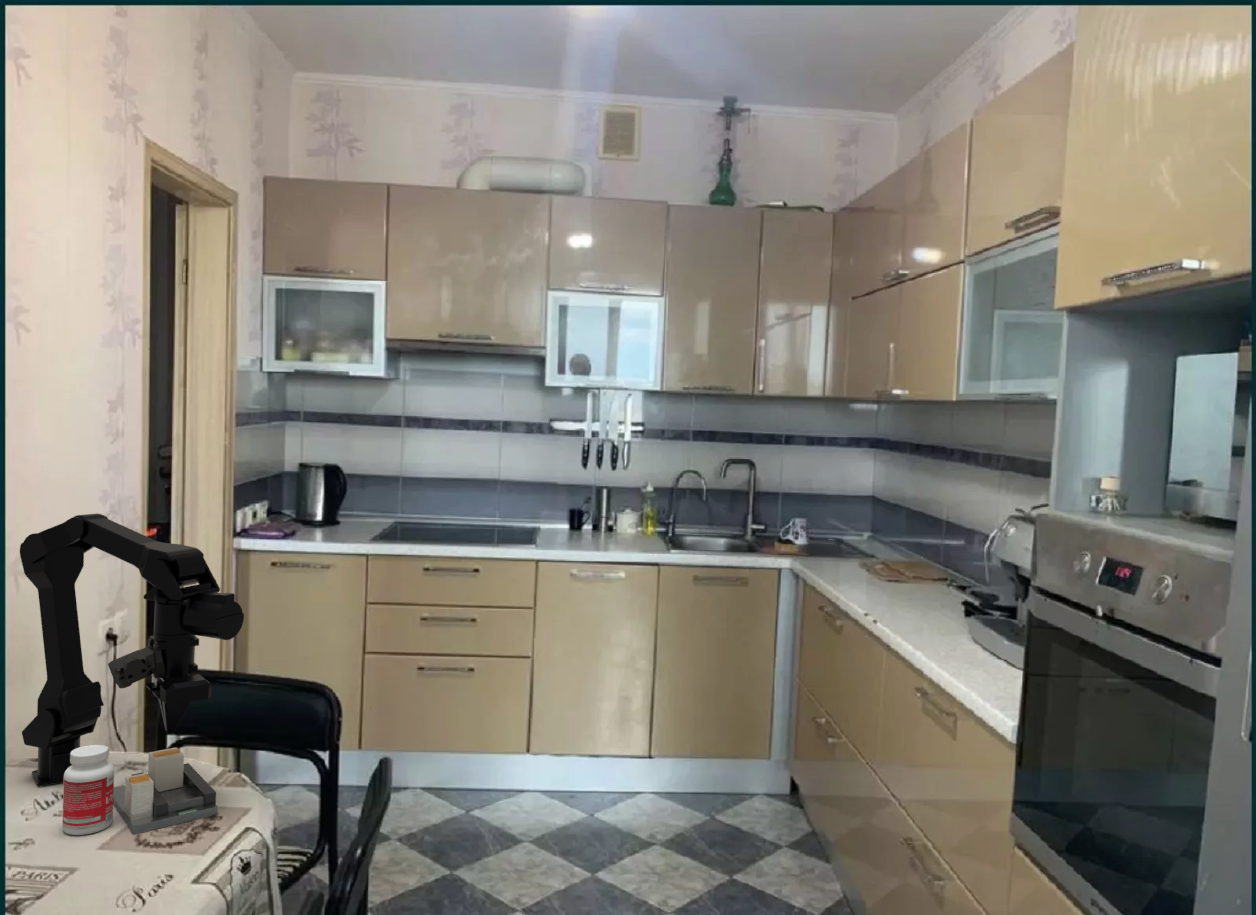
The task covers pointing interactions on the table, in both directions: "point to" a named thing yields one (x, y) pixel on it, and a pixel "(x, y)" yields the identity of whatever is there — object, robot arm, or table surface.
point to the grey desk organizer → (163, 801)
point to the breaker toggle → (166, 768)
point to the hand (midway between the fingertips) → (170, 731)
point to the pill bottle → (88, 791)
